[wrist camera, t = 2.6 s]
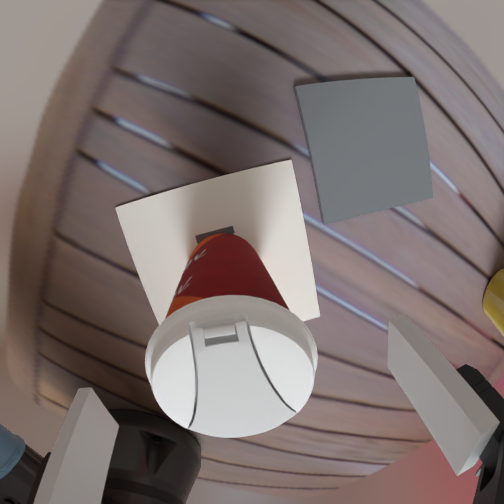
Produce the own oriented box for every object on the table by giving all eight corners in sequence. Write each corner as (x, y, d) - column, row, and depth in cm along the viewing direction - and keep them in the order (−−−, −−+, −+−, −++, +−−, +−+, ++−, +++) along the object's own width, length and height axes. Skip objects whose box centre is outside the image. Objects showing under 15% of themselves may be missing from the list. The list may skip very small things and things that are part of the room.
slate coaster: (322, 222, 25) (324, 224, 24) (293, 87, 21) (295, 86, 20) (429, 196, 25) (432, 197, 24) (410, 77, 21) (414, 76, 21)
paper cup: (166, 228, 23) (112, 327, 10) (265, 211, 24) (324, 294, 11) (188, 316, 26) (172, 451, 13) (276, 301, 26) (324, 429, 13)
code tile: (172, 352, 27) (171, 353, 27) (115, 207, 23) (115, 207, 22) (319, 315, 28) (320, 316, 27) (291, 159, 23) (291, 159, 23)
